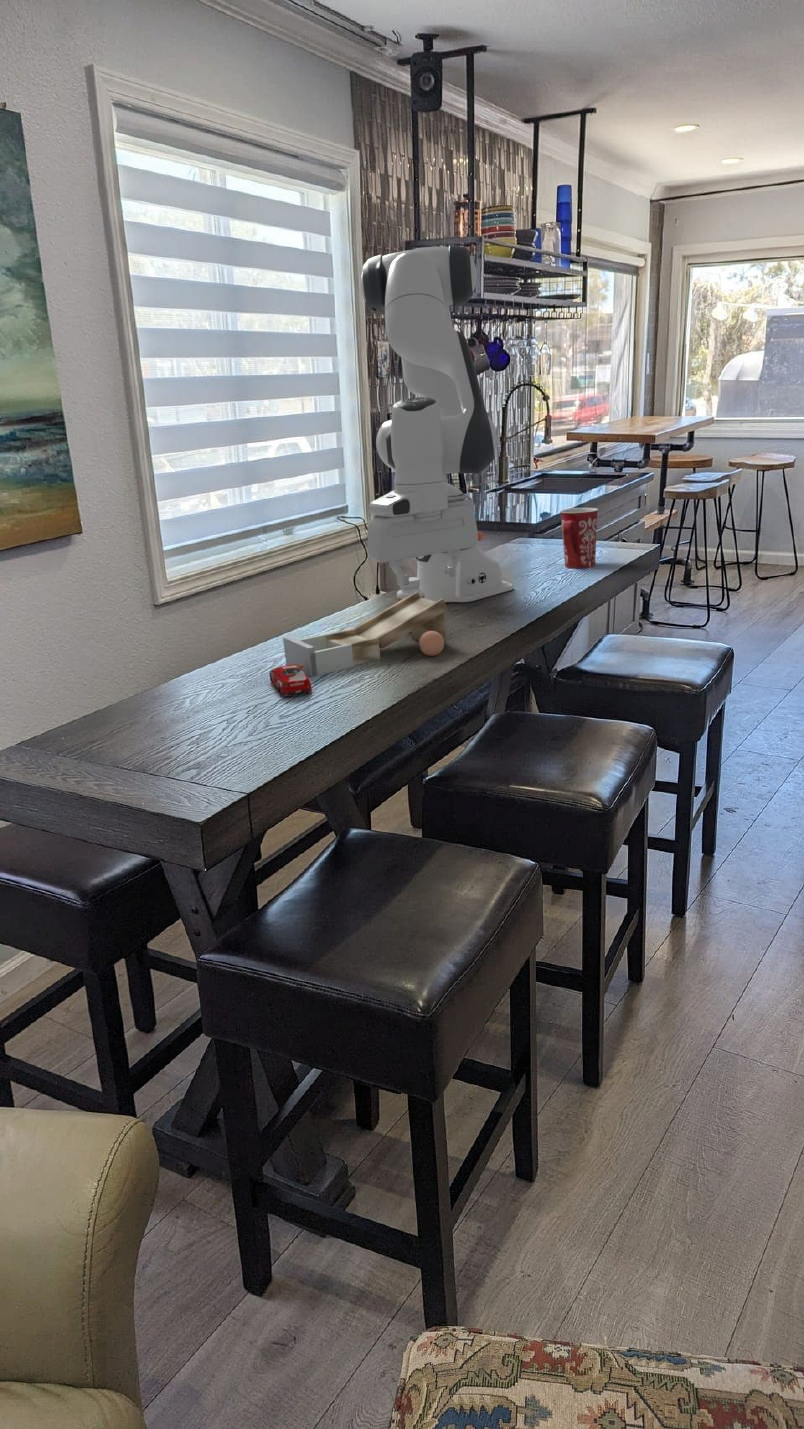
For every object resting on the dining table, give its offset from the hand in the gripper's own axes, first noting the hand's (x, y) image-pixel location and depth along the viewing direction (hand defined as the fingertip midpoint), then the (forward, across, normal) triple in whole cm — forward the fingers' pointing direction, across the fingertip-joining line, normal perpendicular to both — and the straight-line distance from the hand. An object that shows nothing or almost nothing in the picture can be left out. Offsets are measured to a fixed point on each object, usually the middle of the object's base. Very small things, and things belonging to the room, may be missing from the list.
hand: (427, 581), depth 169 cm
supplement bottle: (+13, -8, -20) cm, 26 cm away
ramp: (+13, +4, -9) cm, 17 cm away
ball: (+11, 0, 0) cm, 11 cm away
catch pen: (+13, +18, -9) cm, 24 cm away
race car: (+14, +27, -1) cm, 30 cm away
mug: (+13, -68, -42) cm, 81 cm away
